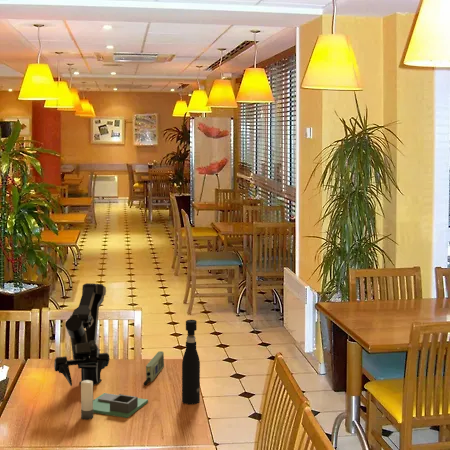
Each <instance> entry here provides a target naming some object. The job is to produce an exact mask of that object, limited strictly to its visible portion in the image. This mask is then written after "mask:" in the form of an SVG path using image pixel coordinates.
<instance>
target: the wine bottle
mask: <svg viewBox="0 0 450 450" xmlns="http://www.w3.org/2000/svg"><path fill="white" fill-rule="evenodd" d="M197 323H198V322H197V320H195V319H186V320H185V331H187V336H186V341H185V351H184V353H183V357H182V363H181V402H182V404H185V405H192V406H193V405H197V404H199V403H200V401H201V397H200V396H201V392H200V391H201V386H200V385H201V382H200V381H201V379H200V378H201V363H200V362H201V361H200V356H199V354H198V353H199V352H198V350H197V341H196V336H195V335H196V333H195V332H196V331H197V326H198V325H197Z"/></svg>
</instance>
